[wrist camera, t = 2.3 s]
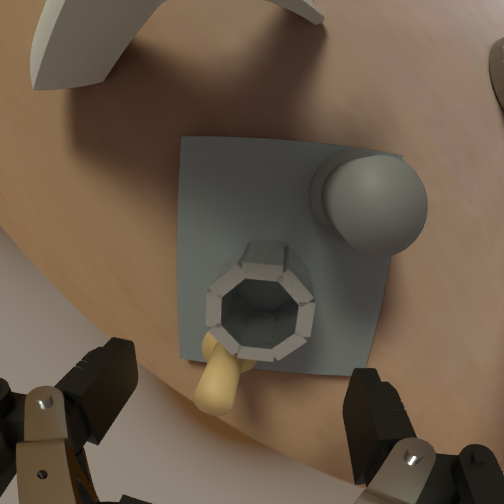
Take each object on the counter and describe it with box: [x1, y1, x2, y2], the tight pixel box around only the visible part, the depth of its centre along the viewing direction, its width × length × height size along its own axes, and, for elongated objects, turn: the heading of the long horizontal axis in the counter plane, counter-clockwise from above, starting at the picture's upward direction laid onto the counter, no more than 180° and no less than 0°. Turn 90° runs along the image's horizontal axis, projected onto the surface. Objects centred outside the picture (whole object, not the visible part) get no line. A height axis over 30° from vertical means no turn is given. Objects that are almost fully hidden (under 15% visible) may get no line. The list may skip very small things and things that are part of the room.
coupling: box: [206, 240, 316, 362], centre depth 18 cm, size 5×5×5 cm
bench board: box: [177, 136, 428, 416], centre depth 17 cm, size 14×16×8 cm
